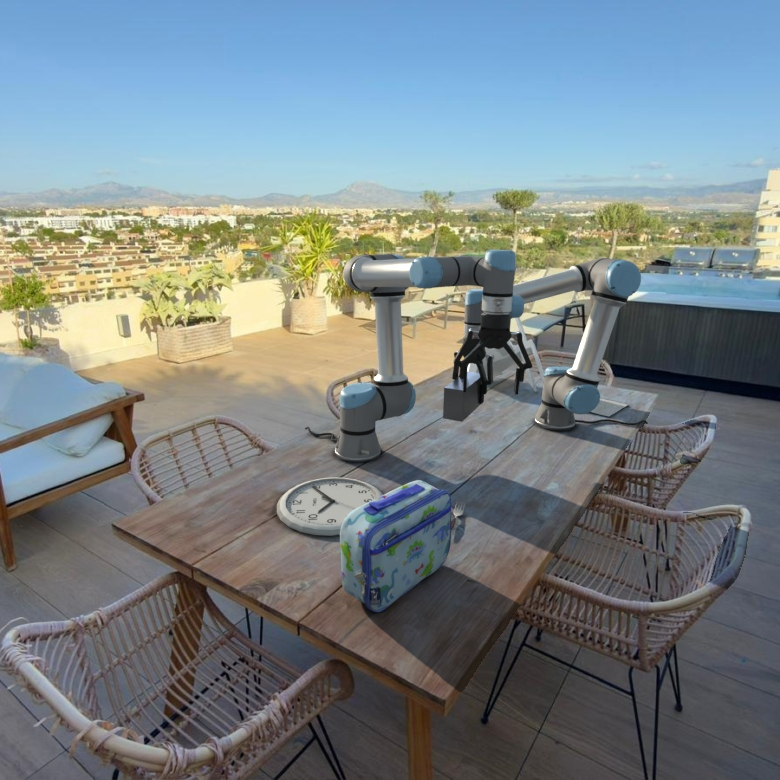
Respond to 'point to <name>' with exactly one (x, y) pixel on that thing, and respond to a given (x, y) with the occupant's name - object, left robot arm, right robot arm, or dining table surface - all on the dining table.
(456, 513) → the fork
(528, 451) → the dining table surface
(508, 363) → the white plastic object
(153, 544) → the dining table surface
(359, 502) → the wall clock
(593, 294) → the right robot arm
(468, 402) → the box
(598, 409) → the invitation card
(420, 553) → the lunch box
